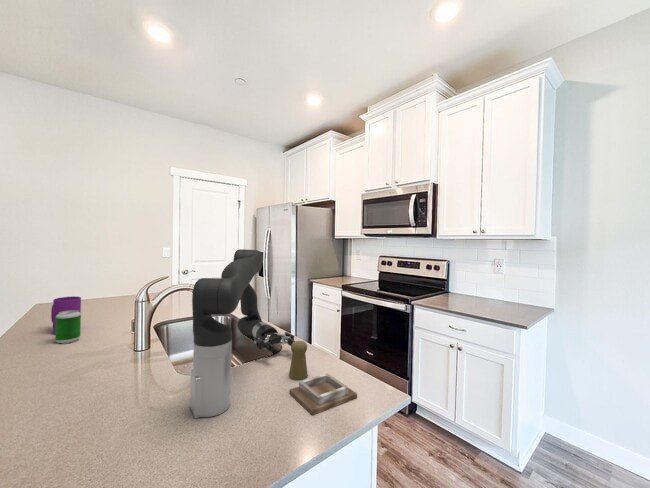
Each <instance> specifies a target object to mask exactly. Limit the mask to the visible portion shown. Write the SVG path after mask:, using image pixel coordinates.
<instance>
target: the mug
mask: <svg viewBox="0 0 650 488" xmlns="http://www.w3.org/2000/svg"><path fill="white" fill-rule="evenodd" d="M81 300H82V297H81V296H63V297H56V298H53V301H52V302H53V303H52V305H51V313H50V318H51V323H52V334H54V335H56V315H58V314H59V312H63V311H69V310H77V311H78V312H80V313H81V312H82V309H81V308H82V301H81ZM81 314H82V313H81Z"/></svg>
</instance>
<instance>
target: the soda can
mask: <svg viewBox="0 0 650 488" xmlns="http://www.w3.org/2000/svg"><path fill="white" fill-rule="evenodd" d="M81 316H82V313H80V312H78V311H77V310H69V311H63V312H59V314H58V315H56V334H55V342H56V343H58V344H59V343H67V344H71V343H70V342H72V343H74V342H73V341H75V342H77V341H79V339H80V338H81V325H82V324H81V321H82V317H81ZM76 340H77V341H76Z"/></svg>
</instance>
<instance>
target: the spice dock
mask: <svg viewBox="0 0 650 488" xmlns="http://www.w3.org/2000/svg"><path fill="white" fill-rule="evenodd" d="M288 390H289V395H290V396H291V397H292V398H293V399H295V401H296V402H298V403H299V405H301V406H302V408H304V409H305V410H306V411H307V412H308V413H309V414H310V415H311V416H314V415H317V414H320V413H323V412H325V411H326V410H330V409H333V408H335V407H337V406H340V405H342V404H345V403H347V402H350V401H352V400H355V399H357V398H358V393H357V392H356V391H354V390H352V388H349V387H348V386H347V385H345V384H344V383H342V382H341V381H339V380H338V379H336V378H335V377H333V376H332V375H331V374H329V373H323V374H321V375H318V376H315V377H311V378H306V379H304V380H299V381H298V386H296V387H294V388H290V389H288Z"/></svg>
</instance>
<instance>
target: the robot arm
mask: <svg viewBox="0 0 650 488" xmlns="http://www.w3.org/2000/svg"><path fill="white" fill-rule="evenodd" d="M263 263H264V256H263V253H262V252H261V251H260V250H257V249H244V248H243V249H236V250H235V252H234V255H233V259H232V261H231V262H229V263H228V264H227V265H226V266H225V267H224V268H223V269H222V271H221V276H220V277H221V278H219V277H217V278H216V277H201V278H198V279H197V280H196V281H195V283H194V285H193V287H192V288H193V289H192V294H191V298H192V299H191V303H192V304H191V306H192V334H193V352H192V353H193V354H192V356H193V358H192V369H191V371H190V390H189V392H190V393H189V394H190V397H189V404H190V405H189V407H190V410H191V412H192V416H193V418H194V419H198V418H210V417H214V416H215V417H216V416H218V415H221V414H223V413H224V412H226V411H227V410H228V409H229V408H230V406H231V396H232V395H231V393H232V392H231V388H232V387H231V386H232V358H233V357H232V354H233V353H232V352H233V330H232V327H230V326H229V325H227V324H224V323H222V322H220V321H217V320H216V318H214V317H213V316H212V315H214V316H215V315H216V316H217V315H218V316H219V315H222V316H225V315H231V314H232V313H233V312H235V310H236V309H237V308H238V305H239V304H240V312H241V314H242V315H244V316H242V317H241V318H239V319H238V321H237V322H236V323H237V324H236V325H237V326H236V327H237V329H238V331H239V332H240V333H241V334H243V335H245V336H251V337H253V345H254V346H255V347H256V348H257V350H262V349H264V350H266V351H269V352H270V353H271V352H273V351H274V345H282V346H283V345H285V344H286V345H288V346H290V347H291V345H292V343H293V342H295V341H296V340H295V335H294V334H291V332H288V331H285V332H284V334H283V333H279V332H278V330H277V329H276V328H275V327H274V326H272V325H270V324H268V323H267V322H265V321H263V320H262V317H261V315H260V312H259V308H258V297H257V296H258V295H257V293H256V291H255V289H254V288H253V287H252V285H251V284H250V283H251V282H252V279H253V277H255V276H256V275H257V274H258V273H260V271H261V270H262V267H263Z"/></svg>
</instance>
